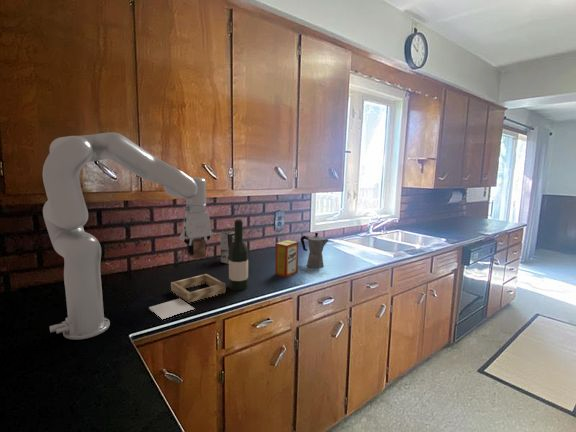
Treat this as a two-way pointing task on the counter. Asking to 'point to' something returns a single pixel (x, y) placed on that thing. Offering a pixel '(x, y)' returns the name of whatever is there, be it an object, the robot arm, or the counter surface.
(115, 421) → the counter surface
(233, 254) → the wine bottle
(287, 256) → the baking soda box
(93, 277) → the robot arm
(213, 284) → the oak frame
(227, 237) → the coffee box
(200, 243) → the walnut block
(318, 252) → the coffeepot
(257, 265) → the counter surface
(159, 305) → the stone pad
